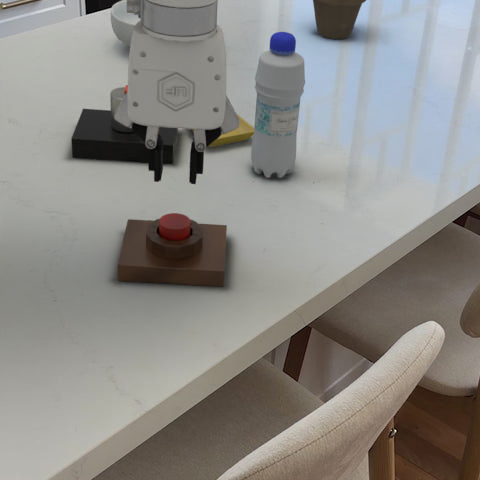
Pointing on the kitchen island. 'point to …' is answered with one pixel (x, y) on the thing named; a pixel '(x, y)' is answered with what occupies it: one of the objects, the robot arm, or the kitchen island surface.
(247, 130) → the saucer
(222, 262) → the button block
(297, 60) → the bottle
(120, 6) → the cereal bowl
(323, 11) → the flower pot
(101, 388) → the kitchen island surface
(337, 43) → the kitchen island surface
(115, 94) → the dial knob
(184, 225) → the button
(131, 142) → the black knob base
